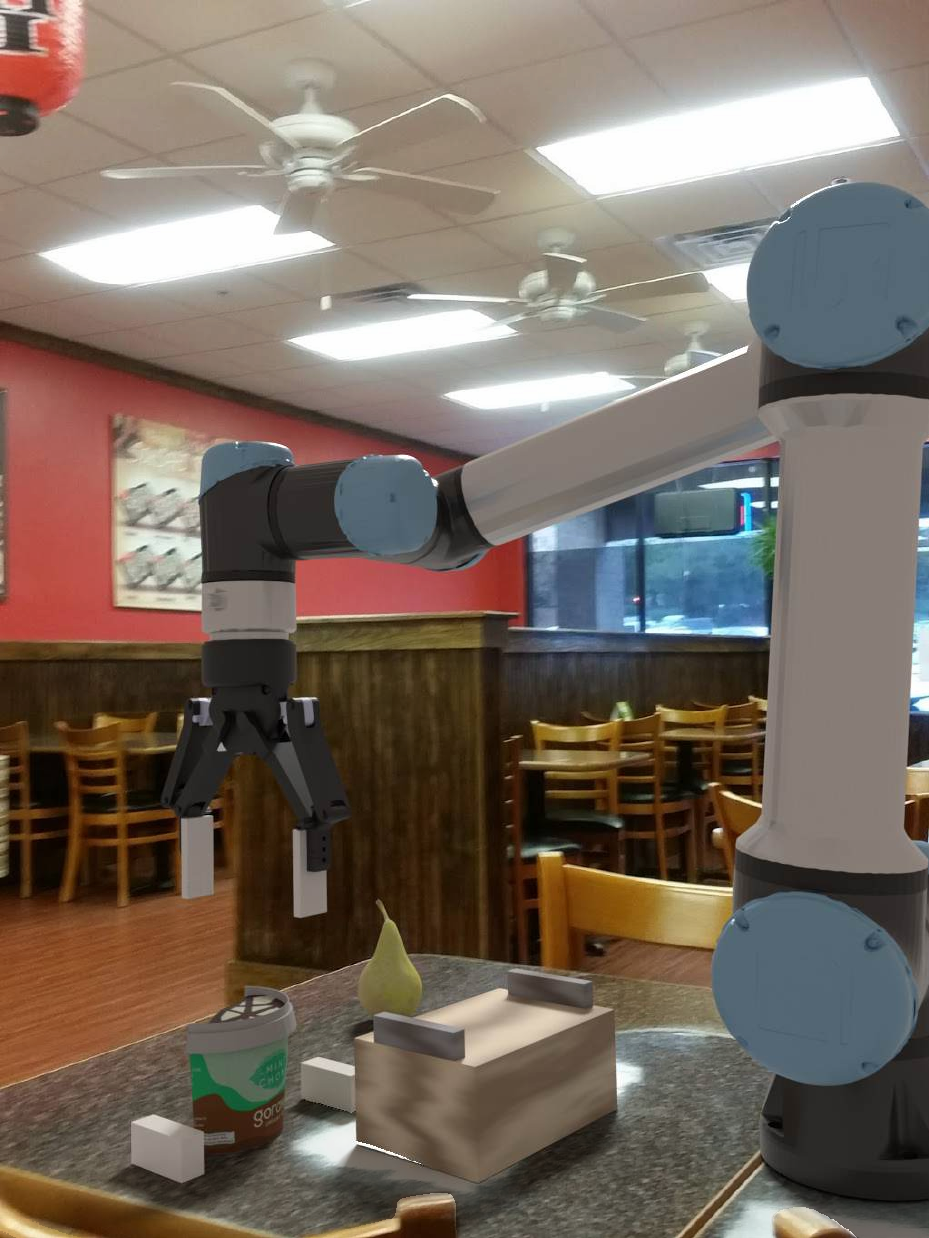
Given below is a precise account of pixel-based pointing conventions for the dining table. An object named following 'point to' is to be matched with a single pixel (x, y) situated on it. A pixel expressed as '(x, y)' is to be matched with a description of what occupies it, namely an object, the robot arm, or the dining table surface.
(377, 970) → the fruit
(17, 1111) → the dining table surface
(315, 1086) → the pair of white blocks
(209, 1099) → the food container
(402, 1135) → the wooden stand
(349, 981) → the dining table surface
